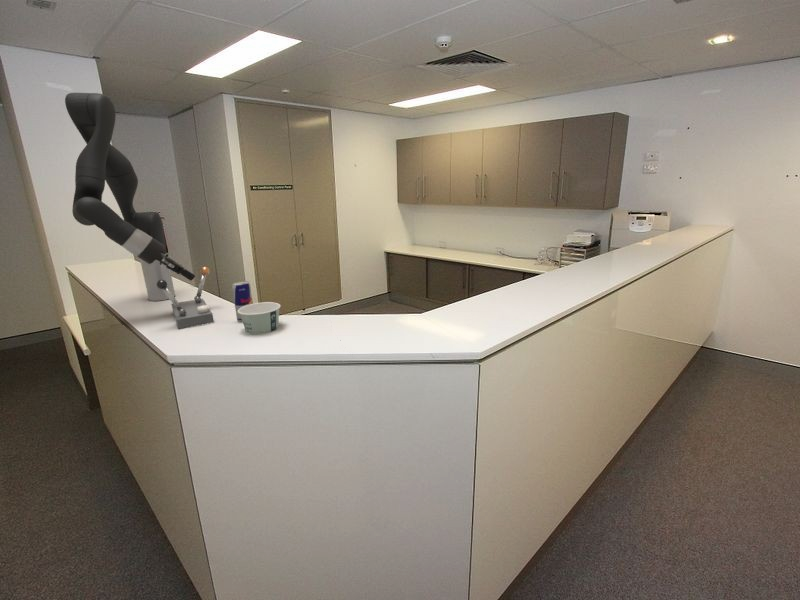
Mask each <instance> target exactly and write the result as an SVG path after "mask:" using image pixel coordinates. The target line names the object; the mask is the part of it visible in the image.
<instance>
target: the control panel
mask: <svg viewBox="0 0 800 600" xmlns="http://www.w3.org/2000/svg"><path fill="white" fill-rule="evenodd" d="M178 303H179V304H180V306H181V307H182V308H184V309H185V311H186V315H185V316H180V315H179V313H178V310H177V309H176V307H175V306H174V304H173V303H171V308H172V310H171V311H172V314H173V317H174V320H175V322H176V326H177V328H178V330H182V329H185V328H186V327H188V328H191V326H193V327H197V325H198V326H202V324H203V325H206V324H207V323H208V324H211V323H215V322H214V321H215V320H214V315H213V314H214V313H213V312H212V310H211V308H209V311H208V312H205V313H198V308H197V307H198V306H202V305H208V304H207V303H206V301H205V300H204V298H201V302H200V303H196V302H195V300H194V299H191V300H187V301H180V302H179V301H178ZM181 328H182V329H181Z"/></svg>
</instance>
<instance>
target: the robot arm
mask: <svg viewBox="0 0 800 600" xmlns="http://www.w3.org/2000/svg"><path fill="white" fill-rule="evenodd" d="M64 103H65V108H66V110H67V113H68V116H69V117H70V120H71V121H72V123H73V124H74V127H76V129H77V131H78V133H79V134H80V135H81V137H82V139H83V140H84V142H85V144H86V145H85V147H84V148H83V149H82V150H81V152H80V153H79V155H78V157H77V159H76V163H75V173H74V174H75V176H74V177H75V179H74V181H75V183H74V185H75V189H74V195H73V202H72V215H73V218H74V219H75V220H76V222H78V223H79V224H80V225H83V226H89V227H90V226H91V227H92V226H96V227H97V228H98V229H100V230H101V231H102V232H104V234H105V236H106V237H107V238H108V239H110V240H111V241H113V242H114V243H116V244H118V245H119V246H121V247H122V248H123V249H125V250H126V251H128V252H129V253H130V254H132V255H134V256H135V257H137V258H138V259H139V261H140V265H141V270H142V271H141V272H142V274H143V279H144V283H145V288H146V292H147V297H148V300H149V301H152V302H156V301H157V302H159V301H160V302H161V301H165V300H170V299H169V298H168V296H167V295H166V294H165V292H164V291H163V290H162V289H159V288H158V287H157V285H156V284H157V282H158V281H159V280H165V281H166V282H167V288H168V289H169V290H170V292H171V293H172V295H173V296H175V297H176V293H175V292H176V291H175V287H174V286H175V285H174V282H173V277H172V272H173V273H176V274H177V275H181V276H182V277H185V278H186V279H187V280H189V281H193V280H194V279H195V277H196V275H195V274H194V273H193V272H191V271H189V270H187V268H185V267H184V266H183V265H182V264H180V262H179V261H177V260H176V259H174V258H173V257H172V256H171V255H170V254H168V252H167V245H166V239H165V233H164V232H165V231H164V224H163V220H162V217H161V215H160V214H159V213H158V212H156V211H142V212H140V211H139V212H137V211H136V210H135V208H134V205H133V204H134V198H135V195H136V193H137V189H138V186H139V179H138V176H137V174H136V171H135V169H134V167H133V164H132V163H131V161H130V160H129V158H127V156H126V155H124V154H123V153H122V152H121V151H120V150H118V149H117V147H115V146H114V145H112V144H111V142H112V137H113V133H114V129H115V124H116V116H117V115H116V109H115V105H114V103H113V101H112V100H111V98H110V97H109V96H108V95H106V94H105V93H99V92H98V93H97V92H68V93H67V94H66V95H65V98H64ZM106 184H107V186H108V188H109V190H110V191H111V193H112V195H113V197H114V199H115V201H116V203H117V205H118V207H119V211H120V212H121V213H120V214H121V215H122V217H121V216H120V215H119V214H118V213H116V212H115V211H114V210H113V209H112V208H111V207H110V206H108V204H106V203H105V202H103V201H102V200H103V193H104V190H105V186H106Z"/></svg>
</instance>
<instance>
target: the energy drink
mask: <svg viewBox="0 0 800 600" xmlns="http://www.w3.org/2000/svg"><path fill="white" fill-rule="evenodd" d="M231 285H232V286H231V291H232V296H233V297H232V298H233V303H234V308H235V309H234V310H235V316H236V320H237V322H239V323H243V321H242V319H241V316H240V314H239V313H238V309H240V308H241V307H243V306H246V305H250V304H254V302H253V296H252V295H253V294H252V288H251V284H250V282H249V281H247V280H243V281H236V282H233V283H232V284H231Z"/></svg>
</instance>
